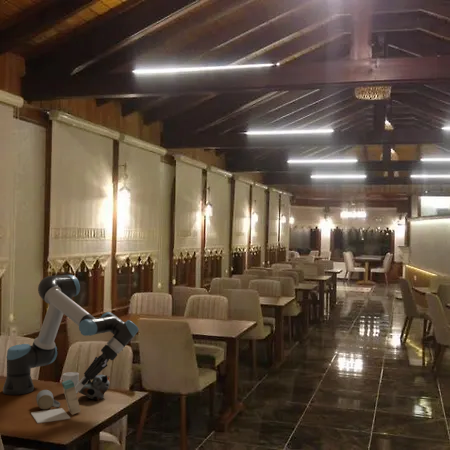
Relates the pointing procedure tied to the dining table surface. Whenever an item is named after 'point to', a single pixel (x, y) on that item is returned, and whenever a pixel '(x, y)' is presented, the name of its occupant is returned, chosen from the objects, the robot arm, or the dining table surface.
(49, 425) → the dining table surface
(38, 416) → the grey mat
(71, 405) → the beige long block
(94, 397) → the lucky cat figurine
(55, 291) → the robot arm
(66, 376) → the white cup
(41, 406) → the ceramic mug
